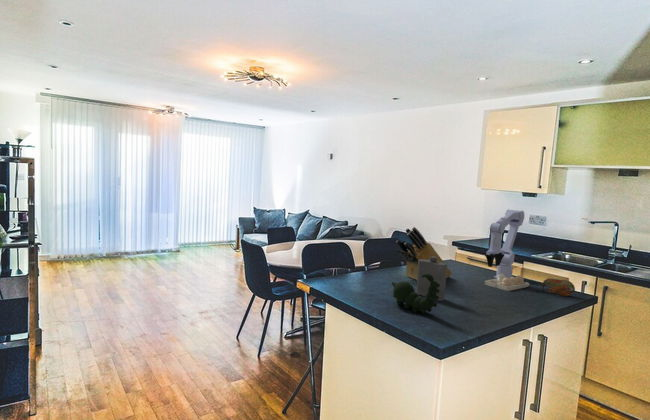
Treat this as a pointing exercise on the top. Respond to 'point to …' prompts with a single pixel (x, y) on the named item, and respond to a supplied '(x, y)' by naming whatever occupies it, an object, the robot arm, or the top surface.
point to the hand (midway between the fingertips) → (493, 266)
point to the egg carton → (499, 285)
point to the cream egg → (500, 277)
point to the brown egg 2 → (520, 279)
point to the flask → (436, 271)
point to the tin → (558, 286)
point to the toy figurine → (416, 295)
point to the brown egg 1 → (506, 282)
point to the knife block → (417, 252)
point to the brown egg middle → (513, 280)
